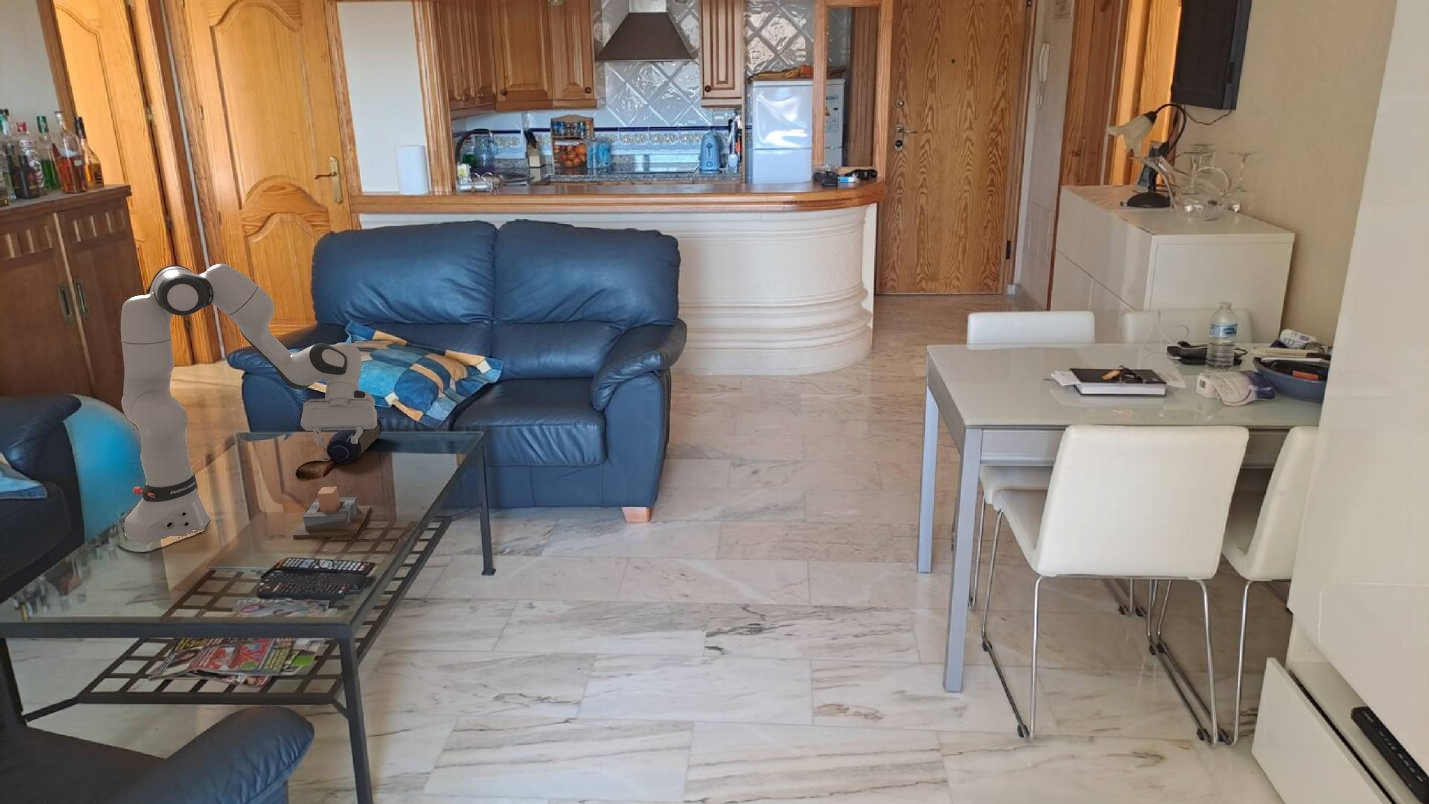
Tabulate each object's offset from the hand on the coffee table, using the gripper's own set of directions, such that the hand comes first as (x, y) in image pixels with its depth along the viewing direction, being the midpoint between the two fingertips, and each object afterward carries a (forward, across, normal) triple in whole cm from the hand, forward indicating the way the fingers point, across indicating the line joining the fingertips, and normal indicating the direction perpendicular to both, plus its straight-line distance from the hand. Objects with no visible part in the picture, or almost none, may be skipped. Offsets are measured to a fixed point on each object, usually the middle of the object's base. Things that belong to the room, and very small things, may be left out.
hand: (336, 443), depth 271 cm
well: (+22, 0, +4) cm, 22 cm away
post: (+21, 0, +3) cm, 21 cm away
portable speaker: (-13, -6, +40) cm, 42 cm away
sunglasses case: (-5, -14, +32) cm, 36 cm away
